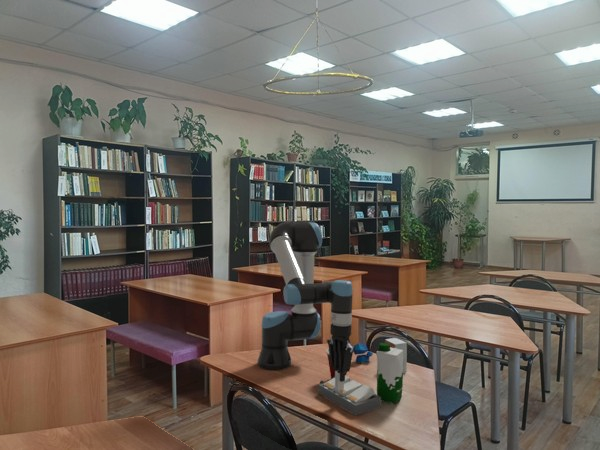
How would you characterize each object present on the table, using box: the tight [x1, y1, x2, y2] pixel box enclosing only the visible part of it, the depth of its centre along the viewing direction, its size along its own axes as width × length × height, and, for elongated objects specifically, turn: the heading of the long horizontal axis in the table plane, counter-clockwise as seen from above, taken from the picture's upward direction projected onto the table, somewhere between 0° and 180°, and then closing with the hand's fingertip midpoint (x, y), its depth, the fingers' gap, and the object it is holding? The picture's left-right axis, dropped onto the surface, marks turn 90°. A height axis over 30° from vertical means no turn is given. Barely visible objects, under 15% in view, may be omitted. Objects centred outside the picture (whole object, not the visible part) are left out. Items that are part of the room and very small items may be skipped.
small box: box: [384, 337, 408, 373], centre depth 184 cm, size 8×6×13 cm
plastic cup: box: [325, 348, 348, 380], centre depth 173 cm, size 11×11×12 cm
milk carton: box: [375, 342, 404, 405], centre depth 156 cm, size 9×9×20 cm
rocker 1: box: [324, 374, 351, 390], centre depth 159 cm, size 5×9×2 cm, turn 124°
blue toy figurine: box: [353, 342, 374, 364], centre depth 195 cm, size 7×9×12 cm
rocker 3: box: [346, 384, 375, 404], centre depth 149 cm, size 5×9×2 cm, turn 124°
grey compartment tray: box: [318, 380, 382, 417], centre depth 157 cm, size 27×12×4 cm, turn 34°
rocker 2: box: [335, 379, 363, 397], centre depth 154 cm, size 5×9×2 cm, turn 124°
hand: (339, 389), depth 151 cm, fingers closed
